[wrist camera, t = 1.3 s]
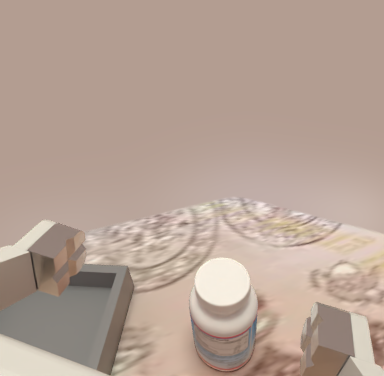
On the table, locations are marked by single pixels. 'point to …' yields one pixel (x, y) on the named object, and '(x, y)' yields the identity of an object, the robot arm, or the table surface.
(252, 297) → the pill bottle
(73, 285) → the tray
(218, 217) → the table surface
